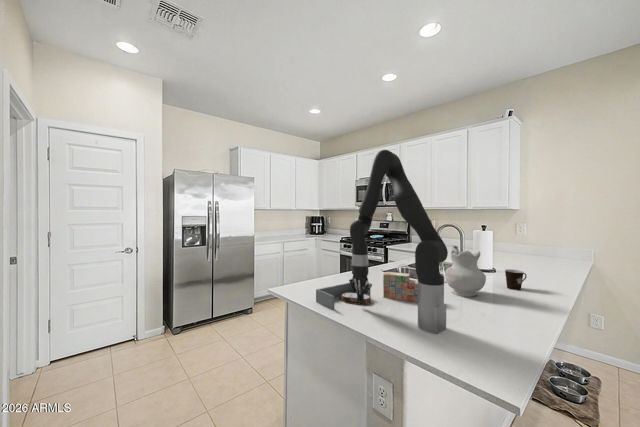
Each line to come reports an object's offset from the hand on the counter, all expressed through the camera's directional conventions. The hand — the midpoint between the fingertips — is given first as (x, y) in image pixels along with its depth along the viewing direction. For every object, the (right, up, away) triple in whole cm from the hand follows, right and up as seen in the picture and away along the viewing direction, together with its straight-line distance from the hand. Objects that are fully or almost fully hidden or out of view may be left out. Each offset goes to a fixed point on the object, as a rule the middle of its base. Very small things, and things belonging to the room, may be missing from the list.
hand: (360, 301), depth 123 cm
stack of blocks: (+25, -3, +13) cm, 28 cm away
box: (-7, -3, +10) cm, 12 cm away
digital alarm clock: (-2, -1, +6) cm, 6 cm away
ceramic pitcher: (+59, -3, +23) cm, 63 cm away
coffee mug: (+94, -3, +31) cm, 99 cm away
